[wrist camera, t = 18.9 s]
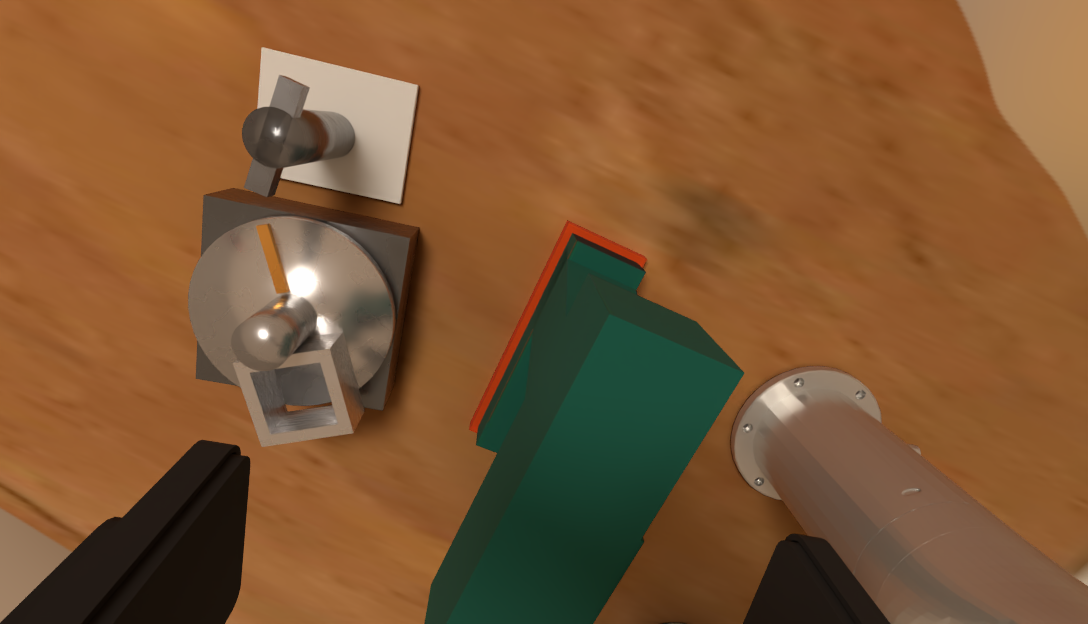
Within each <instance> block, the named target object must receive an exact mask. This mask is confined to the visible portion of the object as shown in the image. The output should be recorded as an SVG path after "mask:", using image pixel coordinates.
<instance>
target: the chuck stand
mask: <svg viewBox="0 0 1088 624" xmlns="http://www.w3.org/2000/svg"><path fill="white" fill-rule="evenodd" d="M272 216H297V217H303V218H309V219H313V220H316V221H319V222H322V223H325V224H327V225H330V226H332V227H334V228H336V229H338V230H340V231H342V232H343V233H345V234H347V235H348V236H350V237H351V238H352V239H354V240H355V241H356V242H358V243H359V244H360V245H361V246H362V247H363V248H364V249H365V250H366V251H367V252H368V253H369V254H370V255H371V256H372V258H373V259H374V260H375V261H376V263H377V264H378V265H379V267H380V269H381V270H382V272H383V273H384V275H385V277H386V280H387V282H388V284H389V286H390V289H391V292H392V296H393V300H394V306H395V321H396V322H395V331H394V336H393V340H392V343H391V346H390V348H389V351H388V353H387V355H386V357H385V359H384V361H383V362H382V364H381V366H380V367H379V369H378V370H377V372H376V373H375V374H374V375H373V376H372V377H371V379H370V380H368V381H367V382H366V383H365V384H364V385H363V386H362V387H360V388H359V391H360V395H361V399H362V402H363V406H364V407H365V408H371V409H377V410H382V411H383V409H384V407H385V405H386V402H387V400H388V398H389V396H390V393H391V391H392V389H393V387H394V381H395V375H396V369H397V362H398V356H399V350H400V344H401V338H402V331H403V325H404V319H405V313H406V307H407V300H408V294H409V288H410V282H411V276H412V269H413V263H414V257H415V251H416V245H417V238H418V232H419V227H414V226H409V225H405V224H400V223H395V222H391V221H386V220H381V219H377V218H372V217H367V216H362V215H358V214H353V213H348V212H344V211H339V210H334V209H330V208H325V207H320V206H315V205H311V204H306V203H301V202H297V201H292V200H287V199H282V198H278V197H273V196H270V197H265V196H263V195H260V194H258V193H254V192H250V191H245V190H240V189H235V188H231V189H227V190H223V191H218V192H214V193H210V194H206V195H204V200H203V223H202V246H201V257H202V255H203V254H204V252H205V251H206V250H207V249H208V247H209V246H210V245H211V244H212V243H213V242H214V241H215V240H217V239H218V238H219V237H221V236H222V235H223V234H225V233H226V232H228V231H230V230H232V229H234V228H236V227H238V226H240V225H243V224H246V223H248V222H251V221H254V220H257V219H261V218H266V217H272ZM196 379H201V380H207V381H213V382H219V383H224V384H230V385H236V384H234V383H233V382H231V381H230V380H229V379H228V378H227V377H225V376H224V375H223V374H222V373H221V372H220V371H219V370H218V369H217V368H216V367H215V366H214V365H213V364H212V362H211V361H210V360H209V359H208V357H207V356H206V355H205V353H204V351H203V350H202V348H201V346H200V345H199V343H198V340H197V362H196ZM236 386H237V385H236Z"/></svg>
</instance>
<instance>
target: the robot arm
mask: <svg viewBox="0 0 1088 624" xmlns="http://www.w3.org/2000/svg"><path fill="white" fill-rule="evenodd" d="M731 451H732V455H733V460H734V462H735V464H736V466H737V468H738V470H739V472H740V473H741V475H742V476H743V477H744V479H745V480H746V482H747V483H748V484H749V485H750V486H751V487H752V488H754V489H755V490H757V491H758V492H760V493H762V494H763V495H765V496H768V497H771V498H773V499H777V500H782V501H783V502H784V503H785V505H786V506H787V508H788V509H789V510H790V512H791V513H792V514H793V516H794V517H795V519H796V520H797V521H798V523H799V524H800V526H801V527H802V528H803V530H804V531H805V533H806V534H807V535H808V536H806V535H800V534H790V535H789V536H788V537H787V538H786V539H785V540H783V541H780V542H779V543H778V544H777V546H776V548H775V550H774V553H773V555H772V557H771V560H770V562H769V564H768V567H767V569H766V571H765V574H764V576H763V578H762V581H761V583H760V585H759V588H758V590H757V592H756V594H755V597H754V599H753V601H752V604H751V606H750V608H749V611H748V613H747V615H746V618H745V620H744V622H743V624H1088V586H1087V585H1085V584H1084V583H1082V582H1081V581H1079V580H1078V579H1076V578H1075V577H1074V576H1072V575H1071V574H1070V573H1069V572H1067V571H1066V570H1065V569H1063V568H1062V567H1061V566H1059V565H1058V564H1057V563H1055V562H1054V561H1053V560H1051V559H1050V558H1049V557H1047V556H1046V555H1045V554H1043V553H1042V552H1041V551H1040V550H1038V549H1037V548H1036V547H1034V546H1033V545H1032V544H1030V543H1029V542H1028V541H1026V540H1025V539H1024V538H1023V537H1021V536H1020V535H1019V534H1018V533H1016V532H1015V531H1014V530H1013V529H1011V528H1010V527H1009V526H1008V525H1006V524H1005V523H1004V522H1003V521H1001V520H1000V519H999V518H998V517H996V516H995V515H994V514H993V513H991V512H990V511H989V510H988V509H987V508H985V507H984V506H983V505H982V504H980V503H979V502H978V501H977V500H975V499H974V498H973V497H972V496H970V495H969V494H968V493H967V492H965V491H964V490H963V489H962V488H961V487H959V486H958V485H957V484H956V483H954V482H953V481H952V480H951V479H949V478H948V477H947V476H946V475H944V474H943V473H942V472H941V471H940V470H938V469H937V468H936V467H935V466H933V465H932V464H931V463H930V462H928V461H927V460H926V459H925V458H923V457H922V456H921V452H920V449H919V447H918V446H916V445H912V444H906V443H905V442H904V441H902V440H901V439H900V438H899V437H897V436H896V435H895V434H894V433H893V432H891V431H890V430H889V429H888V428H886V427H885V426H884V425H883V424H882V420H881V412H880V409H879V406H878V403H877V400H876V399H875V397H874V396H873V394H872V393H871V391H870V390H869V389H868V388H867V387H866V386H865V385H864V384H863V383H861V382H860V381H859V380H857V379H856V378H854V377H853V376H852V375H850V374H848V373H846V372H843V371H841V370H839V369H835V368H830V367H825V366H809V367H803V368H797V369H793V370H790V371H788V372H785V373H782V374H780V375H778V376H776V377H774V378H772V379H771V380H769V381H767V382H766V383H765V384H763V385H762V386H761V387H759V388H758V389H757V390H756V391H755V392H754V393H753V394H752V395H751V396H750V397H749V398H748V399H747V400H746V402H745V404H744V405H743V407H742V408H741V410H740V411H739V413H738V415H737V418H736V420H735V422H734V425H733V430H732V434H731ZM249 475H250V458H249V457H248V456H241V451H240V448H239V447H238V446H237V445H231V444H225V443H219V442H212V441H206V440H200V441H198V442H197V443H196V444H194V445H193V446H192V447H191V448H190V449H189V450H188V451H187V452H186V454H185V455H184V456H183V457H182V458H181V459H180V460H179V461H178V462H177V463H176V464H175V465H174V466H173V467H172V468H171V469H170V470H169V471H168V472H167V473H166V474H165V475H164V476H163V477H162V478H161V479H160V480H159V481H158V482H157V483H156V484H155V485H154V486H153V487H152V488H151V489H150V490H149V491H148V492H147V493H146V494H145V495H144V496H143V497H142V498H141V499H140V500H139V501H138V502H137V503H136V504H135V505H134V506H133V507H132V508H131V509H130V511H129V512H128V513H127V514H126V515H125V516H124V517H123V518H120V517H114V518H111V519H108V520H106V521H105V522H104V523H102V524H101V525H100V526H99V527H97V528H96V529H95V530H94V531H93V532H92V533H91V534H90V535H89V536H88V537H87V538H86V539H85V540H84V541H83V542H82V543H81V544H80V545H79V546H78V547H77V548H76V549H75V550H74V551H73V552H72V553H71V554H70V555H69V556H68V557H67V558H66V559H65V560H64V561H63V562H62V563H61V564H60V565H59V566H58V567H57V568H56V569H55V570H54V571H53V572H52V573H51V574H50V575H49V576H47V578H45V579H44V580H43V581H42V582H41V583H40V584H39V585H38V586H37V587H36V588H35V589H34V590H33V591H32V592H31V593H30V594H29V595H28V596H27V597H26V598H25V599H24V600H23V601H22V602H21V603H20V604H19V605H18V606H17V607H16V608H15V609H14V610H13V611H12V612H11V613H10V614H9V615H8V616H7V617H6V618H5V619H4V620H3V621H2V622H1V623H0V624H225V622H226V621H227V619H228V617H229V615H230V614H231V612H232V610H233V608H234V606H235V603H236V601H237V598H238V595H239V591H240V586H241V575H242V563H243V550H244V538H245V525H246V513H247V500H248V487H249Z"/></svg>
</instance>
